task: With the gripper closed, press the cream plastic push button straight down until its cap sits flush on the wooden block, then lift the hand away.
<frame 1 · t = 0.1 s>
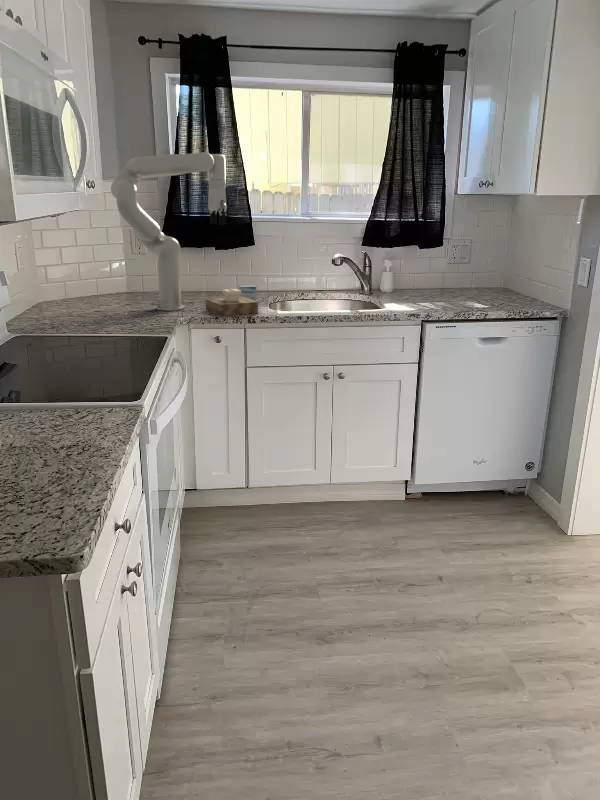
hand: (218, 224, 277), 37 cm above the countertop, tool pointing down, fingers open, 9 cm apart
wooden block: (231, 311, 274), on the countertop
medicine box: (247, 304, 293), on the countertop
button: (231, 296, 271), point 7 cm above the countertop, slide at 0.0 cm
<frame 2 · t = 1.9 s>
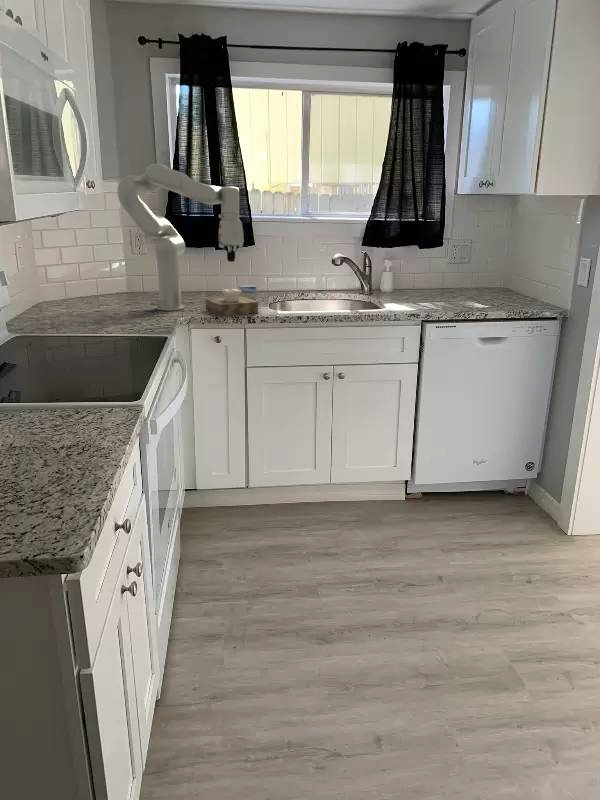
hand: (231, 261, 267), 22 cm above the countertop, tool pointing down, fingers closed
nothing on the countertop moved.
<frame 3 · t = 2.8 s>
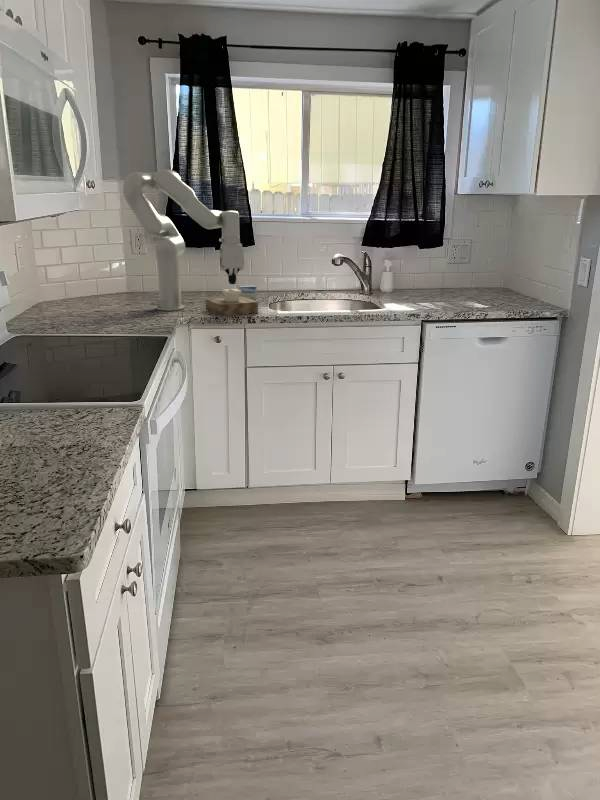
hand: (232, 283, 270), 12 cm above the countertop, tool pointing down, fingers closed
nothing on the countertop moved.
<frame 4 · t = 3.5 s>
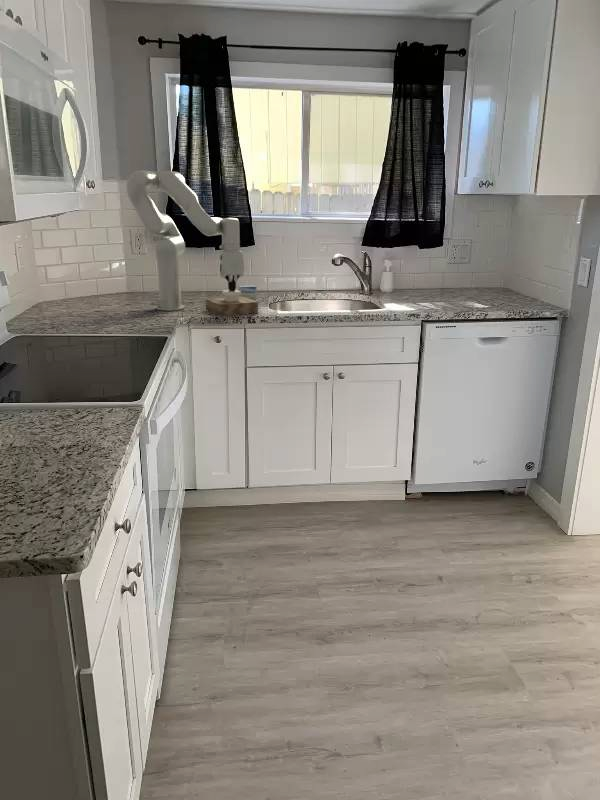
hand: (232, 290, 271), 9 cm above the countertop, tool pointing down, fingers closed
button: (231, 297, 272), point 6 cm above the countertop, slide at 0.5 cm, touching gripper
everything else where it was.
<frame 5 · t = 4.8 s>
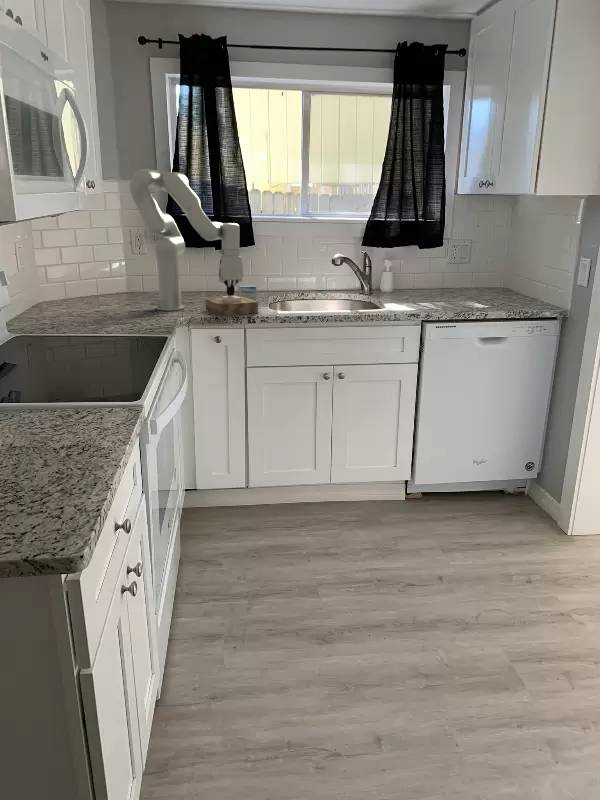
hand: (230, 295, 271), 7 cm above the countertop, tool pointing down, fingers closed
button: (231, 303, 272), point 4 cm above the countertop, slide at 3.1 cm
everything else where it was.
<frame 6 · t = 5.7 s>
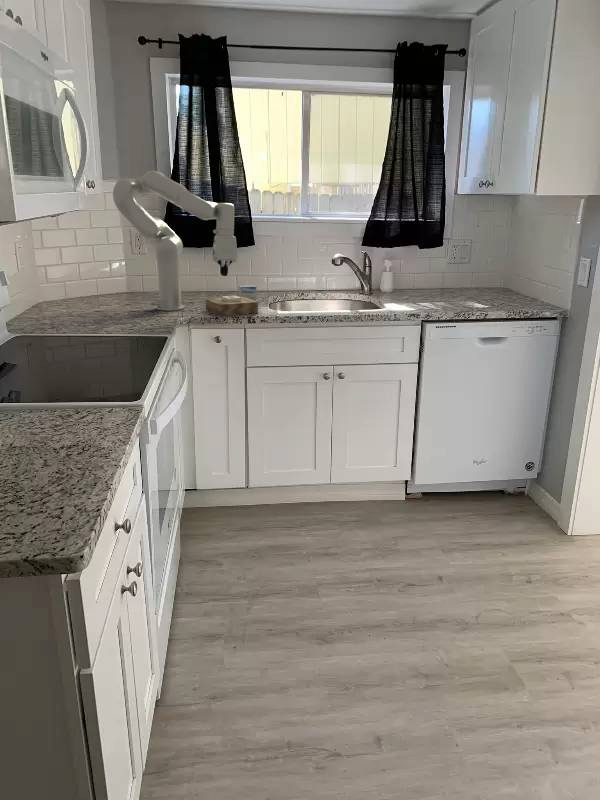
hand: (224, 275, 272), 15 cm above the countertop, tool pointing down, fingers closed
nothing on the countertop moved.
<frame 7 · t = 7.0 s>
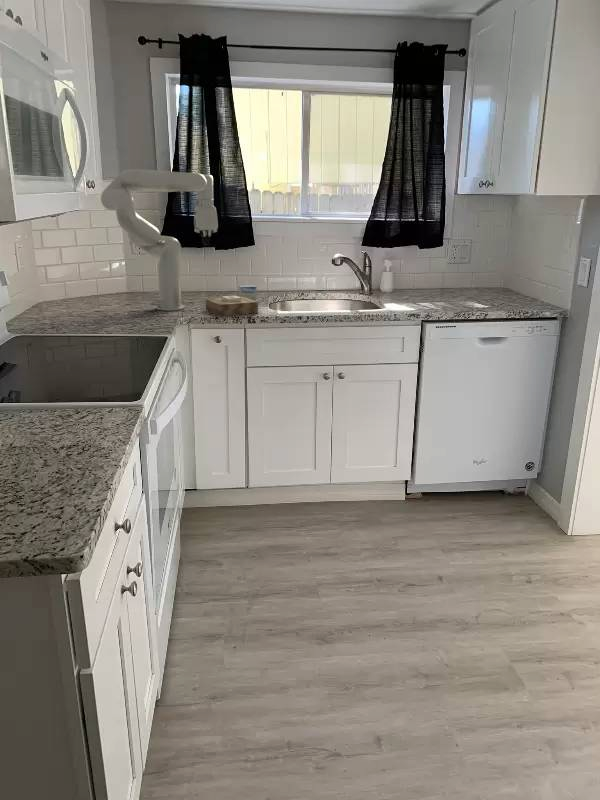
hand: (206, 245, 283), 27 cm above the countertop, tool pointing down, fingers closed
nothing on the countertop moved.
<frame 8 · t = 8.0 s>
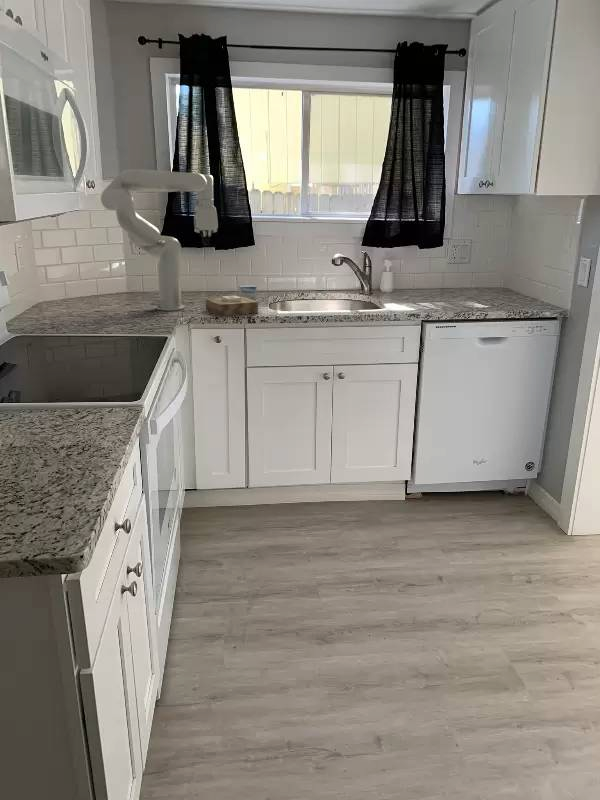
hand: (206, 245, 283), 27 cm above the countertop, tool pointing down, fingers closed
nothing on the countertop moved.
at the end: button slide at 3.1 cm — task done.
